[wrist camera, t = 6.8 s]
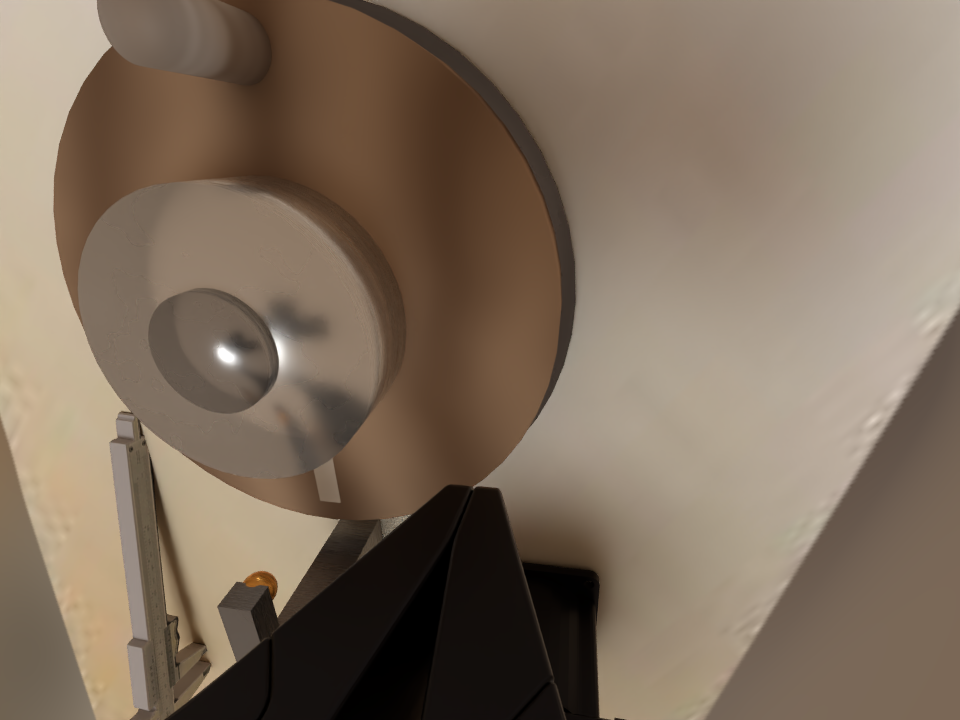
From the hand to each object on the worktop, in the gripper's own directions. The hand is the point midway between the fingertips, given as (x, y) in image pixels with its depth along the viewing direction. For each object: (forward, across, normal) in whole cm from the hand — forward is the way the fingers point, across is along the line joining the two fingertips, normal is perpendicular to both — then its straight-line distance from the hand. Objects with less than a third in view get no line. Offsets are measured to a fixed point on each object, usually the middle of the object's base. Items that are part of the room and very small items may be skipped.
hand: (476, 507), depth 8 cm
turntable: (+12, +9, 0) cm, 15 cm away
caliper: (+13, +22, +17) cm, 31 cm away
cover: (+10, +10, 0) cm, 14 cm away
